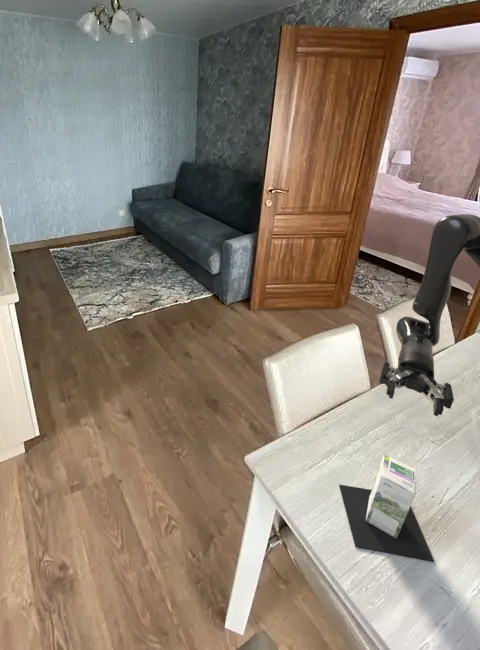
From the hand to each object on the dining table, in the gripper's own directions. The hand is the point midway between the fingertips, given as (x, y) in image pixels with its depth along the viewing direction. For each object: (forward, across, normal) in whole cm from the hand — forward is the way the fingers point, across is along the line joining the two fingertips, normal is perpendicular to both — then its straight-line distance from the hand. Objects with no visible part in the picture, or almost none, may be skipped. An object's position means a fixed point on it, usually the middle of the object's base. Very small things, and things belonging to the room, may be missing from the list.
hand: (413, 404), depth 77 cm
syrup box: (+16, -1, +19) cm, 24 cm away
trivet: (+16, -1, +19) cm, 25 cm away
